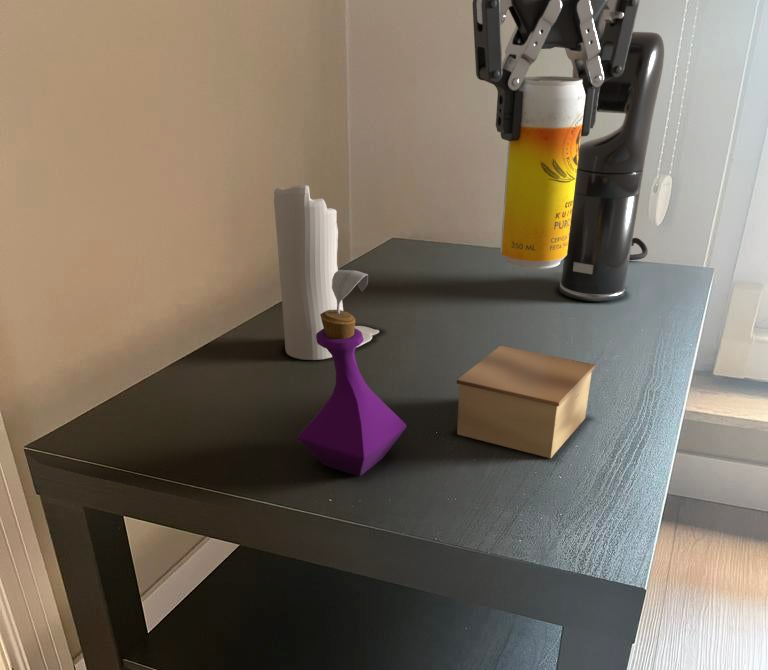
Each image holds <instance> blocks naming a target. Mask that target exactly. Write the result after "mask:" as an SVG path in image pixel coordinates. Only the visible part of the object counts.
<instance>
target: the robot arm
mask: <svg viewBox="0 0 768 670" xmlns="http://www.w3.org/2000/svg"><path fill="white" fill-rule="evenodd" d="M640 2H641V0H472V2H471V3H472V22H473V24H472V25H473V41H474V43H473V44H474V63H475V76H476V77H477V80H480V81H485V82H486V83H489V84H491V85H493V86H494V87H495V88H496V90H497V99H496V112H495V113H496V114H495V117H496V118H495V128H496V132H497V133H500V138H501V139H502V140H504V141H507V142H509V141H517V140H518V139H519V136H520V123H521V111H522V99H523V92H522V91H519V88H520V86H521V84H522V82H523V80H524V78H525V77H527V76H526V75H527V73H528V72H529V69H530V67H531V65H532V64H534V63H535V62H536V60H537V59H538V57H539V55H540V52H541V51H542V50H550V49H551V50H552V49H554V48H562V49H564V50H565V54H566V56H567V58H568V60H570V63H571V65H572V75H571V77H574V78H580V79H582V84H583V88H584V91H585V94H586V97H585V105H584V114H583V122H582V131H581V137H588V136H589V134H590V132H591V129H593V128H594V126H595V124H596V120H597V113H607V114H608V113H609V114H625V115H624V119H623V122H622V124H621V125H620V127H619V128H617V129H616V130H615V129H614V131H611V132H610V133H608V134H607V135H603V136H601V137H598V138H594V139H590V140H587V141H584V142H582V143H580V148H579V156H578V165H577V173H576V182H575V190H574V199H573V207H572V216H571V224H570V233H569V241H568V250H567V255H566V256H565V257H564V258H563V260H562V261H563V262H562V270H561V278H560V279H561V280H560V282H559V292H560V293H561V294H562V295H564V296H565V297H568V298H571V299H575V300H579V301H584V302H585V301H586V302H611V301H614V300H615V301H616V300H619V299H621V298H623V297H624V296H625V293H626V280H627V275H628V270H629V264H630V263H629V262H630V261H637V260H642V259H644V258H646V257H647V256H648V253H649V251H648V250H649V249H648V246H647V245H646V244H645V242H644V241H642V239H640V238H638V237H634V231H635V225H636V219H637V213H638V208H639V201H640V193H641V187H642V181H643V174H644V169H645V161H646V155H647V151H648V145H649V141H650V133H651V127H652V122H653V117H654V111H655V107H656V102H657V98H658V93H659V89H660V84H661V80H662V73H663V67H664V62H665V61H664V60H665V44H664V40H663V37H662V36H661V35H660V34H659V33H657V32H651V31H634V28H635V24H636V20H637V16H638V11H639V6H640ZM507 11H509V13H510V16H511V18H512V19H513V21H514V23H515V27H514V30H513V32H512V34H511V36H510V38H509V41H508V43H507V45H506V47H505V50H504V52H505V56H504V58H503V49H502V46H503V45H502V25H503V24H504V22H505V20H506V17H507V16H506V15H507ZM635 244H636V245H637V246H638V247H639V248H640V249H641V252H640V253H636V254H631V251H632V247H635V246H634V245H635Z"/></svg>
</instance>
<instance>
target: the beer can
mask: <svg viewBox="0 0 768 670" xmlns="http://www.w3.org/2000/svg"><path fill="white" fill-rule="evenodd" d="M519 91H522V92H523V99H522V111H521V123H520V136H519V139H518V140H517V141H507V143H508V145H507V156H506V158H507V159H506V171H505V184H504V198H503V210H502V211H503V212H502V224H501V225H502V226H501V238H500V239H501V240H500V254H501V255H502V256H503V258H504V259H505V263H506V264H507V265H510V266H512V267H515V268H519V269H524V270H525V269H526V270H547V269H553V268H555V267H558V266H559V265H560V264H561V261H563V260H564V257H565V256H566V255H567V250H568V241H569V233H570V224H571V216H572V207H573V199H574V190H575V182H576V173H577V165H578V156H579V148H580V145H581V139H582V136H581V131H582V122H583V114H584V105H585V97H586V94H585V91H584V88H583V84H582V79H580V78H574V77H572V76H557V75H555V76H553V75H552V76H551V75H548V76H547V75H545V76H544V75H541V76H539V75H537V76H536V75H535V76H525V78H524V80H523V82H522V84H521V86H520V88H519Z"/></svg>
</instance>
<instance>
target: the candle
mask: <svg viewBox="0 0 768 670" xmlns="http://www.w3.org/2000/svg"><path fill="white" fill-rule="evenodd" d="M273 196H274V197H273V206H274V207H273V208H274V219H275V233H276V244H277V255H278V256H277V257H278V271H279V272H278V273H279V281H280V283H279V284H280V293H281V305H282V321H283V334H284V335H283V336H284V347H285V348H284V349H285V353H286V354H287V355H288V356H289V357H291V358H294V359H297V360H303V361H318V360H326V359H331V358H333V357H332V355H331V354H330V352H329V351H328V350H327V349H326V348H324V347H322V346H320V345H319V344H317V339H316V335H317V333H318V332H319V331H320V330H322V329H323V328H324V327H323V323H322V320H321V316H320V314H322V313H323V312H325V311H327V310H337V300H336V297H335V295H334V292H333V290H332V278H333V276H334V274H335V273H336V272H337V271H338V270H339V268H338V246H339V245H338V244H339V243H338V241H339V240H338V239H339V229H338V223H337V222H338V221H337V219H338V217H337V215H338V214H337V213H338V212H337V210H336V208H332V207H327V204H326V201H325V200H324V198H316V199H312V198H311V194H310V186H309V185H307V184H298V185H294V186H292V187H288V188H283V187H277V188H275V189H274V192H273ZM340 310H341V311H344V303H343V299H342V300H341V301H340ZM355 328H356V329H358V330H360V331H361V332H362V336H363V339H364V340H363V342H362V343H361V344H360V345H359V346H357V347H356V348H359V347H362V346H363V345H365V344H367V343H369V342H370V341H371V340H372V339H373V336H376V335H377V334H379V333H380V330H379V329H374V328H371V327H368V326H363V325H355Z"/></svg>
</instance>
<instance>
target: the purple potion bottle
mask: <svg viewBox="0 0 768 670" xmlns="http://www.w3.org/2000/svg"><path fill="white" fill-rule="evenodd" d="M368 283H369V274H368V273H366V272H365V273H364V272H362V271H358V270H352V269H351V270H349V269H338V271H337V272H336V273H335V274H334V276H333V278H332V290H333V292H334V295H335V297H336V300H337V310H327V311H325V312H323V313H322V314H320V316H321V320H322V323H323V327H324V328H323V329H322V330H320V331H319V332H318V333H317V335H316V339H317V344H319V345H320V346H322V347H324V348H326V349H327V350H328V351H329V352H330V354H331V355H332V357H331V358H332V359H333V363H334V369H335V385H334V389H333V391H332V392H331V395H329V397H328V399H327V400H326V401H325V403H324V404H323V406H322V408H320V410H319V411H318V412H317V413H316V415H314V417H313V418H312V419H311V420H310V421H309V423H308V424H307V425H306V426H304V428H303V429H302V430H301V431H300V433H299V434H298V435H297V437H296V438H297V440H298V441H299V442H300V443H301V445H303V446H304V447H305V448H306V449H307V450H308V451H309V452H310V453H311V454H312V455H313V456H314V457H315V458H316V459H317V460H318V461H319V462H320V463H321V464H322V465H323V466H325V467H328V468H332V469H334V470H337V471H340V472H344V473H347V474H350V475H354V476H357V477H361V476H362V475H364V474H365V473H366V472H367V471H369V470H370V469H371V468H373V467H374V466H375V465H376V464H378V463H379V462H380V461H381V460H383V459H384V458H385V456H386V455H387V454H388V453H389V451H390V449H392V447H393V445H394V444H395V443H396V441H398V440H399V438H400V436H401V435H402V434H403V432H405V430H406V428H407V423H405V421H403V420H402V419H401V418H400V417H399V416H398V415H397V414H396V413H395V412H394V411H393V410H392V409H391V408H390V407H388V405H386V404H385V402H383V401H382V399H381V398H380V397H379V396H378V395H377V394H376V393H375V392H374V391H373V390H372V389H371V388H370V387H369V385H368V384H367V383H366V381H365V379H364V378H363V376H362V373H361V372H360V369H359V366H358V363H357V360H356V355H355V352H356V349H357V348H358V347H357V346H359V345H360V344H361V343H362V342H363V340H364V339H363V336H362V332H361V331H360V330H358V329H356V328H355V326H356V319H355V317H354V315H352V314H351V313H349V312H348V311H344V310H343V311H341V310H340V301H341V300H342V301H343V300H344V299H345V298H346V297H347V296H348V295H349V294H350V293H352V291H353V289H354V288H355V287H356V286H358V289H359V290H360V291H361V292H364V290H365V289H366V287H367V286H368ZM359 347H360V346H359Z"/></svg>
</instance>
